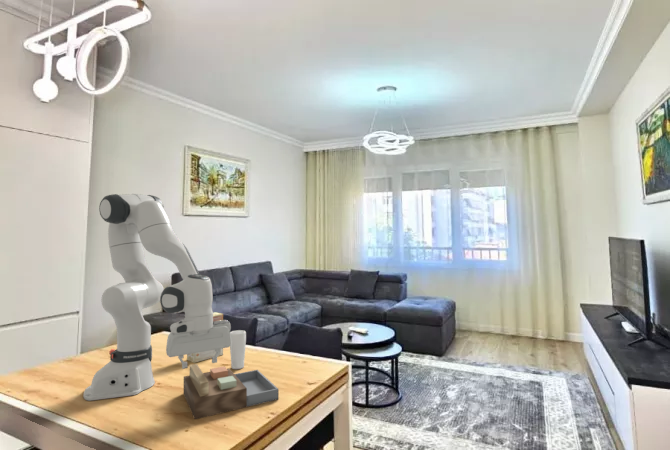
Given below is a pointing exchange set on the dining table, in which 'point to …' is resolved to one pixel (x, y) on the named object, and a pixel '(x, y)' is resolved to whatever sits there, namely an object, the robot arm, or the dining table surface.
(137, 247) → the robot arm
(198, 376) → the bar
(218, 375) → the terracotta tile
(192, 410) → the walnut platform
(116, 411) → the dining table surface
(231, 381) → the sage tile
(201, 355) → the coffeecake box
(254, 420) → the dining table surface
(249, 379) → the box
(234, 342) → the drinking glass
